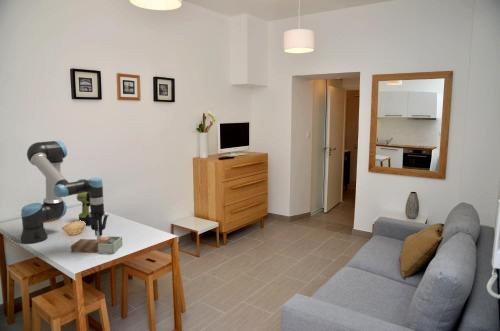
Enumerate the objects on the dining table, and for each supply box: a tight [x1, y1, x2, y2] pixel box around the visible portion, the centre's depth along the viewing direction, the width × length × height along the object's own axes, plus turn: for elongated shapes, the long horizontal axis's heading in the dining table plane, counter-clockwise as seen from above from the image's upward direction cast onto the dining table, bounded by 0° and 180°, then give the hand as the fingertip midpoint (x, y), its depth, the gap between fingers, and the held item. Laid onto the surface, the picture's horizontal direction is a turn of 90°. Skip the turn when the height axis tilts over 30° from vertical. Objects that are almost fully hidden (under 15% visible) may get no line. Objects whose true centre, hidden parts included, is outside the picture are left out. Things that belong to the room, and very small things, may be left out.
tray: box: [98, 235, 123, 255], centre depth 220 cm, size 9×13×6 cm
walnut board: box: [70, 238, 99, 254], centre depth 221 cm, size 17×11×4 cm, turn 87°
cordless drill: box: [76, 192, 94, 227], centre depth 264 cm, size 23×7×25 cm, turn 57°
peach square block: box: [98, 236, 110, 244], centre depth 220 cm, size 5×5×3 cm
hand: (99, 240), depth 220 cm, fingers closed
